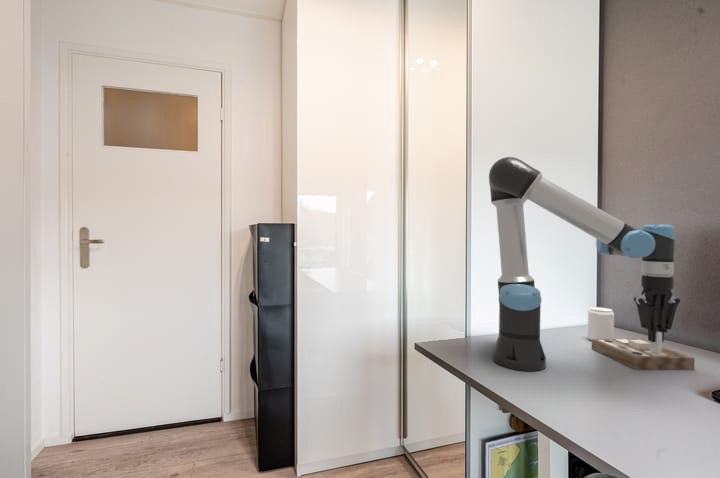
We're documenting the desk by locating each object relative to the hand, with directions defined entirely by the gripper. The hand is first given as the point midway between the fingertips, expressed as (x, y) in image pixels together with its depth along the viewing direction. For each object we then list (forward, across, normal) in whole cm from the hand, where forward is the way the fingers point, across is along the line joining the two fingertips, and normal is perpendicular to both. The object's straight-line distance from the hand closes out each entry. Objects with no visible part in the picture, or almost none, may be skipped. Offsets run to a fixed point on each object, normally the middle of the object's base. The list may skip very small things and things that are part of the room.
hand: (655, 352), depth 110 cm
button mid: (+2, 0, +6) cm, 6 cm away
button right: (+4, 0, 0) cm, 4 cm away
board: (+4, 0, +6) cm, 7 cm away
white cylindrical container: (+4, +1, +25) cm, 25 cm away
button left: (+4, 0, +12) cm, 13 cm away
